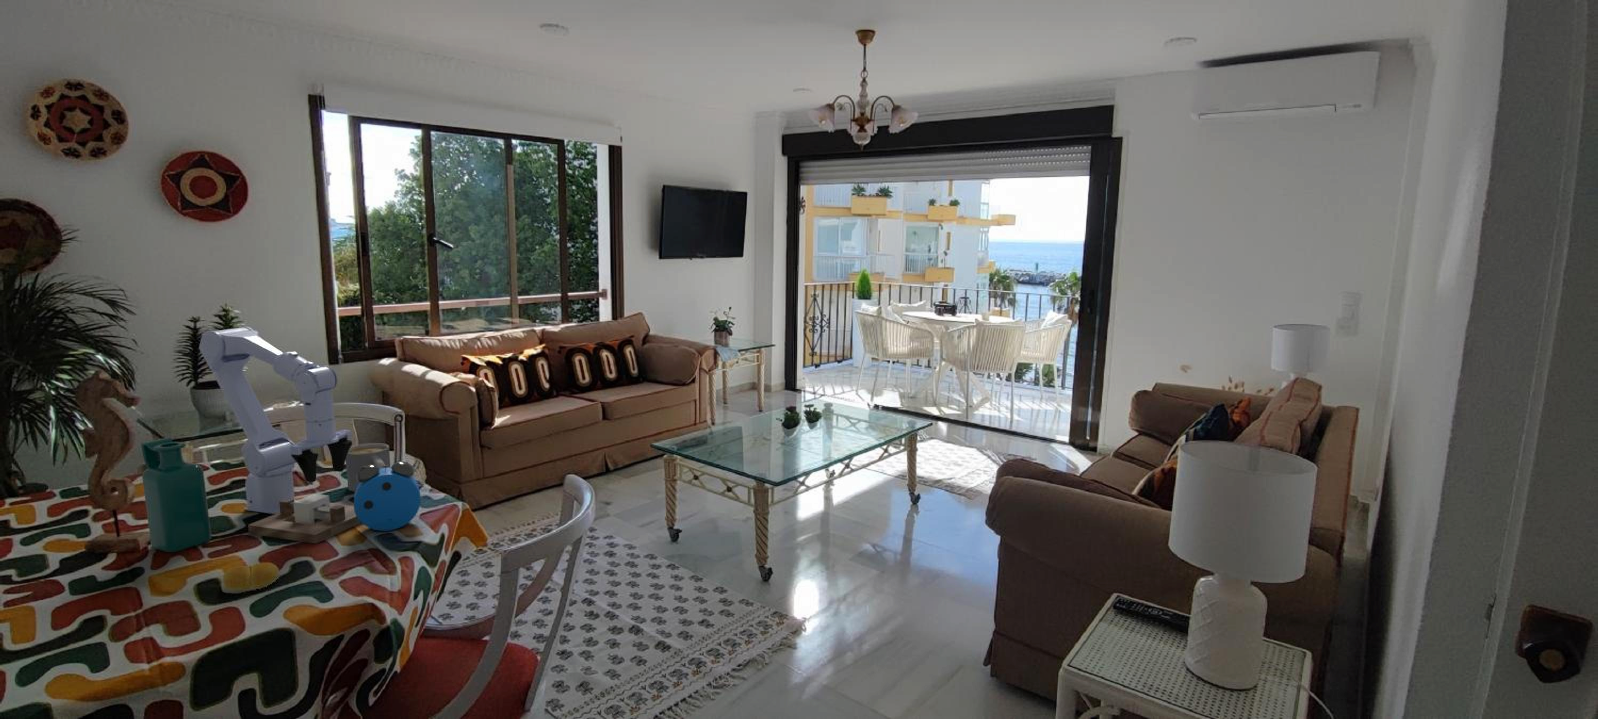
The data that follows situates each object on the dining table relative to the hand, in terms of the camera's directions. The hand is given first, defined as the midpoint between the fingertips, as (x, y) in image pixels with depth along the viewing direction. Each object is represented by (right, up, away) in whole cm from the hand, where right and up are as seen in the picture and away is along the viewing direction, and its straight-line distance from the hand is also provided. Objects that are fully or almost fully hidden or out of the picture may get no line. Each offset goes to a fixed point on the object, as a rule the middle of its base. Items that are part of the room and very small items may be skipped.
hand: (325, 476), depth 178 cm
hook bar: (0, -7, -5) cm, 9 cm away
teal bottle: (-21, -12, -15) cm, 29 cm away
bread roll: (+6, -16, -33) cm, 37 cm away
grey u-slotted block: (0, -10, -5) cm, 11 cm away
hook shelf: (0, -10, -5) cm, 11 cm away
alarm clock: (+18, -11, -5) cm, 21 cm away
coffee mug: (0, -6, +20) cm, 21 cm away
